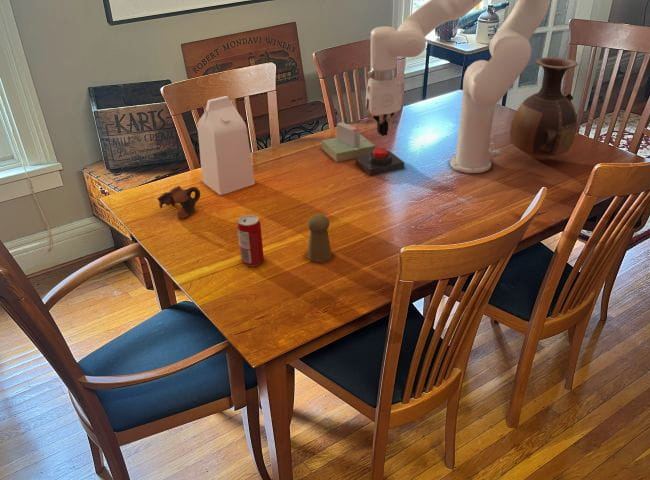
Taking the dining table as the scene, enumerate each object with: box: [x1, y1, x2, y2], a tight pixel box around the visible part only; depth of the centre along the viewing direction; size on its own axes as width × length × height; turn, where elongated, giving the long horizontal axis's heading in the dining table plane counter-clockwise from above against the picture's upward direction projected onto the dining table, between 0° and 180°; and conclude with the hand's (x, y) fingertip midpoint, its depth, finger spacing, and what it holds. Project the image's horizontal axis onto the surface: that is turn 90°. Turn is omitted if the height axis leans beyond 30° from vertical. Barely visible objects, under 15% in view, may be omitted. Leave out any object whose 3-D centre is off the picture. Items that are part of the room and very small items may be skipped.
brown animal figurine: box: [157, 185, 201, 220], centre depth 175 cm, size 12×10×8 cm
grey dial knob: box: [336, 121, 361, 148], centre depth 202 cm, size 9×2×6 cm, turn 38°
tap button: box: [373, 147, 388, 158], centre depth 193 cm, size 4×4×2 cm
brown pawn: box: [307, 213, 332, 263], centre depth 151 cm, size 6×6×11 cm
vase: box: [509, 56, 579, 160], centre depth 189 cm, size 23×19×30 cm
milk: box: [197, 95, 256, 196], centre depth 181 cm, size 12×12×26 cm
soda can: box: [236, 214, 265, 267], centre depth 150 cm, size 6×6×12 cm
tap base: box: [321, 133, 376, 163], centre depth 205 cm, size 14×13×3 cm
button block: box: [355, 150, 405, 177], centre depth 195 cm, size 12×10×4 cm
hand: (382, 134), depth 189 cm, fingers closed
